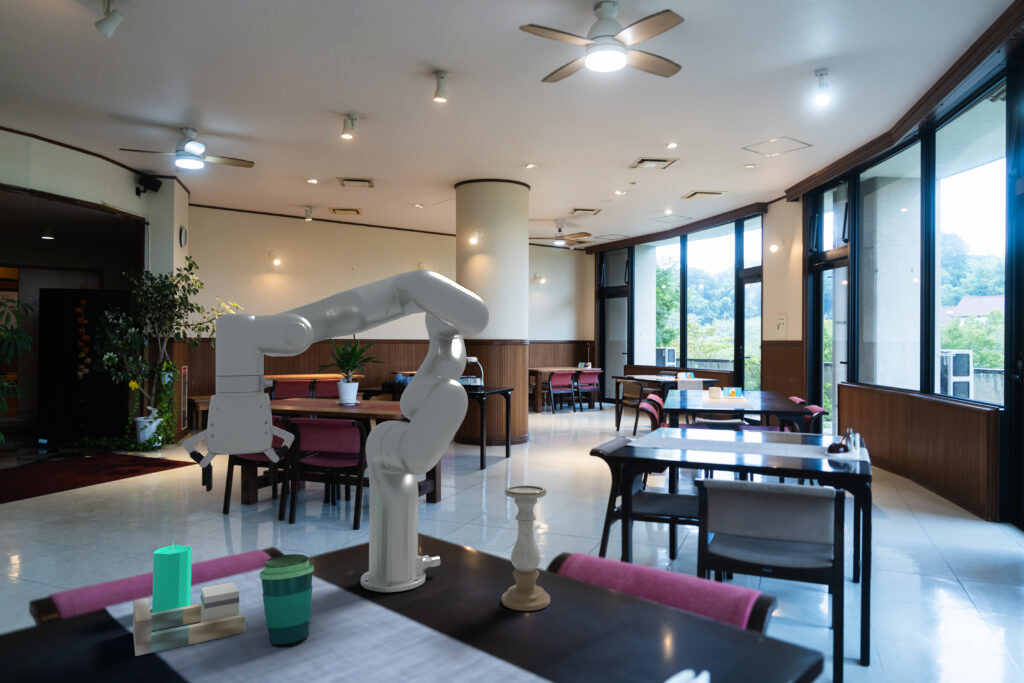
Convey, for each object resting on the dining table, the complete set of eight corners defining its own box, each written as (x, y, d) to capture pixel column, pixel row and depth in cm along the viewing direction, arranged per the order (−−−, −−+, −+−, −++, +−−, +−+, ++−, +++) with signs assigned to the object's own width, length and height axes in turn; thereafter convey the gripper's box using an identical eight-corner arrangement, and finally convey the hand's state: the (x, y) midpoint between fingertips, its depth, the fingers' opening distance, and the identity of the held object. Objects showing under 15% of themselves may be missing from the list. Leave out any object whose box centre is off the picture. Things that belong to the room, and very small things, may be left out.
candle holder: (493, 607, 110) (493, 491, 111) (512, 590, 119) (512, 483, 119) (540, 614, 107) (540, 495, 108) (556, 597, 115) (556, 486, 116)
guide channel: (234, 611, 108) (234, 582, 109) (244, 632, 100) (245, 600, 100) (133, 632, 100) (133, 600, 100) (135, 656, 92) (136, 621, 92)
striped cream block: (233, 617, 106) (234, 581, 106) (238, 628, 102) (239, 591, 102) (200, 624, 103) (200, 587, 104) (204, 635, 99) (204, 597, 99)
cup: (261, 653, 93) (262, 571, 93) (256, 632, 100) (257, 556, 100) (317, 642, 97) (318, 563, 97) (308, 623, 104) (309, 550, 104)
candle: (173, 618, 106) (175, 546, 106) (143, 615, 107) (145, 544, 108) (198, 604, 112) (199, 536, 112) (169, 602, 113) (170, 535, 113)
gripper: (293, 384, 113) (294, 479, 112) (186, 387, 107) (186, 487, 106) (294, 385, 106) (295, 487, 105) (179, 389, 100) (180, 496, 99)
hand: (240, 487), depth 106 cm, fingers open, 9 cm apart
